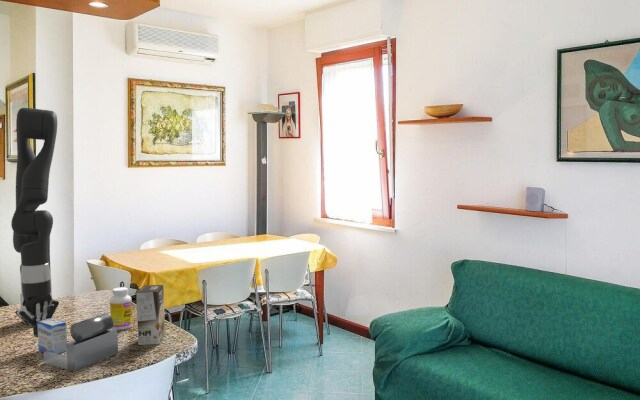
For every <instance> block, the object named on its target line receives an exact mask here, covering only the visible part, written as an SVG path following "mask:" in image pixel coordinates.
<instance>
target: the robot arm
mask: <svg viewBox="0 0 640 400" xmlns="http://www.w3.org/2000/svg"><path fill="white" fill-rule="evenodd" d="M15 124H16V150H17V151H16V153H17V156H16V173H15V174H16V175H15V210H14V213H13V215H12V218H11V222H10V223H11V229H12V244H13V245H12V246H13V248H14V250H15V252H17V253H19V254H20V261H21V262H20V263H21V264H20V265H19V273H20V275H19V276H20V287H21V288H20V290H21V291H20V292H21V293H20V295H19V297H20V308H19V309H18V310H15V312H14V313H15V315H16V316H17V317H18V318H19V319H21V321H22V323H23V324H24V325H30V326H32V330H33V336H34V337H35V338H37V339H38V328H37V322H38V321H41V320H45V319H50V318H51V319H54V314H55V312H56V311H57V308H58V307H59V304H60V302H59V301H58V300H54V298H53V290H52V289H53V288H52V286H53V285H52V274H51V250H50V249H51V245H50V244H51V233H52V229H53V225H54V219H53V218H54V217H53V215H52V213H50V211H48V210H44V209H43V210H42V209H40V210H39V209H38V208H39V207H40V206H41V205H44V204H46V203H47V201H48V198H49V181H50V173H51V167H52V162H53V156H54V152H55V146H56V140H57V134H58V133H57V132H58V116H57V113H56V112H55V111H54V110H48V109H41V108H40V109H39V108H32V107H31V108H30V107H21V108H19V109H18V111H17V114H16V123H15ZM30 139H31V140H41V141H43V145H42V147H41V149H40V151H39V152H38V154H37V155H36V154H35V153H34V151H33V148H32V146H31V143H30Z"/></svg>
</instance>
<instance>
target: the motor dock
mask: <svg viewBox="0 0 640 400" xmlns="http://www.w3.org/2000/svg"><path fill="white" fill-rule="evenodd" d="M70 336H71V337H72V339H73V341H69V342H67V344H66V346H67V351H66V355H65V354H62V353H59V354H57V353H52V352H48V351H47V352H42V353H43V364H44V365H49V366H54V367H58V368H62V369H66V370H68V371H69V370H70V371H74V372H77V371H80V370H83V369H84V368H86V367H87V368H88V366H89V367H90V366H91V364H92V365H93V364H96V363H98V361H99V362H101V361H103V360H106V359H107V357H108V358H111V357H113V356H115V355H117V353H118V354H119V340H118V339H119V338H118V330H117V329H113V320H112V318H111V314H110V313H107V312H106V313H101V314H98V315H95V316H94V317H93V316H92V317H90V318H87V319H84V320H81V321H78V322H75V323H72V324H71V326H70ZM112 355H113V356H112ZM110 356H111V357H110ZM105 358H106V359H105ZM100 360H101V361H100ZM79 369H80V370H79Z"/></svg>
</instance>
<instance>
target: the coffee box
mask: <svg viewBox="0 0 640 400" xmlns="http://www.w3.org/2000/svg"><path fill="white" fill-rule="evenodd" d="M164 292H165V291H164V284H150V285H143V286H141V287H140V288H139V289H138V290H137V291H136V292H135V294H136V316H137V318H136V320H137V321H136V322H137V344H138V346H139V345H140V346H143V345H144V346H147V345H159V344H160V343H161V341H162V340H163V339H164V337H165V335H166V324H165V323H166V322H165V319H166V318H165V299H164V298H165V295H164Z"/></svg>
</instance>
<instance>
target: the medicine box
mask: <svg viewBox="0 0 640 400" xmlns="http://www.w3.org/2000/svg"><path fill="white" fill-rule="evenodd" d="M37 328H38V338H37V350H38V351H40V352H42V353H44V352H47V351H48V352H52V353H57V354H62V353H65V352H67V346H66V344H67V343H68V334H67V329H68V328H67V322H65V321H62V320H58V319H55V318H53V319H51V318H50V319H45V320H41V321H38V322H37Z"/></svg>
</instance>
